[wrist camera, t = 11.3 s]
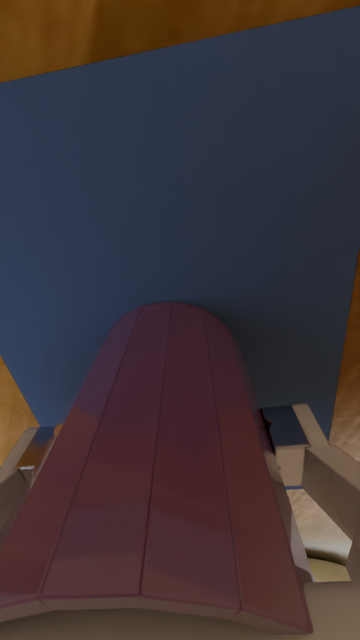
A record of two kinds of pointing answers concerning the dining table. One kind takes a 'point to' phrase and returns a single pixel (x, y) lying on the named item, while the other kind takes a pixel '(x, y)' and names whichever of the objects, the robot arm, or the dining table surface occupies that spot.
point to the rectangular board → (186, 205)
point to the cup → (159, 488)
